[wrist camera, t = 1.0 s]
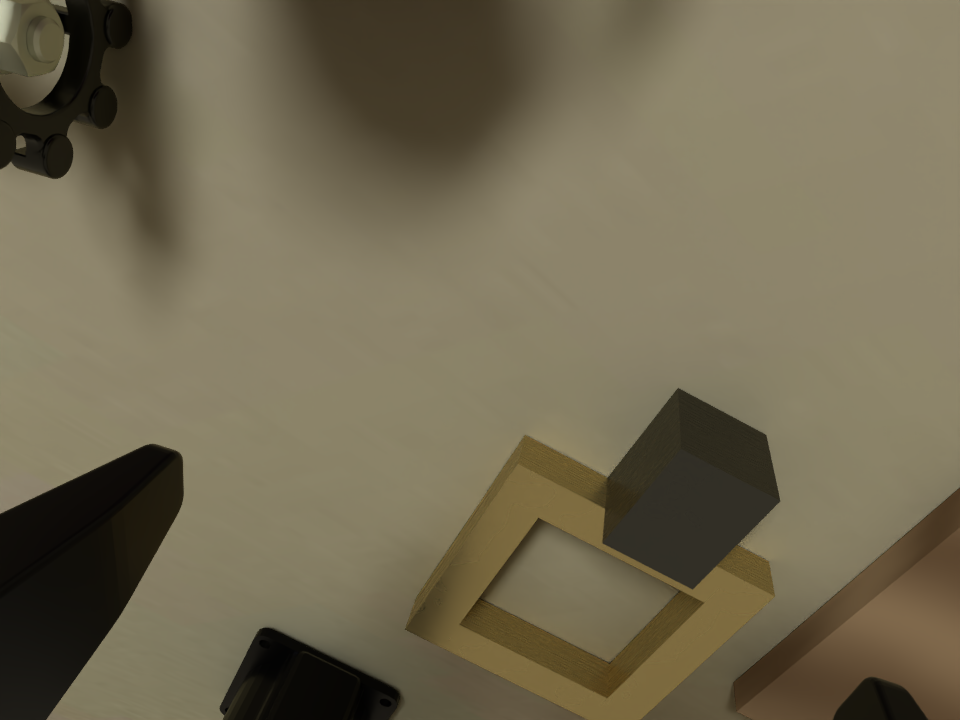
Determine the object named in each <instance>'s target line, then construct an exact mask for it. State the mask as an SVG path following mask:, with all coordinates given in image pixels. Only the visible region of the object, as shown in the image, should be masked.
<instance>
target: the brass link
mask: <svg viewBox="0 0 960 720" xmlns="http://www.w3.org/2000/svg"><path fill="white" fill-rule="evenodd" d="M779 502H780V498H779V493H778V488H777V483H776V479H775V474H774V469H773V465H772V460H771V455H770V450H769V446H768V441H767V436H766V435H765V434H763V433H761V432H760V431H758V430H756V429H754V428H752V427H750V426H748V425H746V424H745V423H743V422H741V421H739V420H737V419H735V418H733V417H731V416H730V415H728V414H726V413H724V412H722V411H720V410H718V409H716V408H715V407H713V406H711V405H709V404H707V403H705V402H703V401H701V400H699V399H698V398H696V397H694V396H692V395H690V394H688V393H686V392H684V391H683V390H681V389H679V388H678V389H677V390H676V391H675V393H674V394H673V395H672V396H671V398H670V399H669V400H668V402H667V403H666V404H665V405H664V407H663V408H662V409H661V411H660V412H659V413H658V414H657V416H656V417H655V418H654V419H653V421H652V422H651V423H650V425H649V426H648V427H647V428H646V430H645V431H644V432H643V433H642V435H641V436H640V437H639V439H638V440H637V441H636V442H635V444H634V445H633V446H632V448H631V449H630V450H629V451H628V453H627V454H626V455H625V456H624V458H623V459H622V460H621V462H620V463H619V464H618V465H617V467H616V468H615V469H614V470H613V472H612V473H611V474H610V476H609V477H608V478H607V477H605V476H603V475H601V474H599V473H597V472H595V471H593V470H591V469H589V468H588V467H586V466H584V465H582V464H580V463H578V462H576V461H574V460H572V459H570V458H568V457H566V456H564V455H562V454H561V453H559V452H557V451H555V450H553V449H551V448H549V447H547V446H545V445H543V444H541V443H539V442H537V441H536V440H534V439H532V438H530V437H528V436H526V435H525V436H524V437H523V439H522V440H521V442H520V443H519V445H518V446H517V448H516V449H515V451H514V452H513V454H512V455H511V457H510V458H509V460H508V461H507V463H506V464H505V466H504V467H503V469H502V470H501V472H500V473H499V475H498V476H497V478H496V479H495V481H494V482H493V484H492V485H491V487H490V488H489V490H488V491H487V493H486V494H485V496H484V497H483V499H482V500H481V502H480V503H479V505H478V506H477V508H476V509H475V511H474V512H473V514H472V515H471V517H470V518H469V520H468V521H467V523H466V524H465V526H464V527H463V529H462V530H461V532H460V533H459V535H458V536H457V538H456V539H455V541H454V542H453V544H452V545H451V547H450V548H449V550H448V551H447V553H446V554H445V556H444V557H443V558H442V560H441V561H440V563H439V564H438V566H437V567H436V569H435V570H434V572H433V573H432V575H431V576H430V578H429V579H428V581H427V582H426V584H425V585H424V587H423V588H422V590H421V591H420V593H419V594H418V596H417V597H416V600H415V602H414V605H413V608H412V611H411V614H410V617H409V620H408V623H407V625H406V628H405V630H407V631H409V632H411V633H413V634H415V635H417V636H419V637H421V638H423V639H425V640H427V641H429V642H431V643H433V644H435V645H437V646H439V647H441V648H443V649H445V650H448V651H450V652H452V653H454V654H456V655H458V656H460V657H462V658H464V659H466V660H468V661H470V662H472V663H474V664H476V665H478V666H480V667H482V668H484V669H486V670H488V671H490V672H492V673H494V674H496V675H498V676H500V677H502V678H504V679H506V680H508V681H510V682H512V683H514V684H516V685H518V686H520V687H522V688H525V689H527V690H529V691H531V692H533V693H535V694H537V695H539V696H541V697H543V698H545V699H547V700H549V701H551V702H553V703H555V704H557V705H559V706H561V707H563V708H565V709H567V710H569V711H571V712H573V713H575V714H577V715H579V716H581V717H583V718H585V719H587V720H641V719H642V718H643V717H644V716H645V715H646V714H647V713H648V712H649V711H650V710H652V709H653V708H654V707H655V706H656V705H657V704H658V703H659V702H660V701H661V700H662V699H664V698H665V697H666V696H667V695H668V694H669V693H670V692H671V691H672V690H673V689H674V688H676V687H677V686H678V685H679V684H680V683H681V682H682V681H683V680H684V679H685V678H686V677H688V676H689V675H690V674H691V673H692V672H693V671H694V670H695V669H696V668H697V667H699V666H700V665H701V664H702V663H703V662H704V661H705V660H706V659H707V658H708V657H709V656H711V655H712V654H713V653H714V652H715V651H716V650H717V649H718V648H719V647H720V646H721V645H723V644H724V643H725V642H726V641H727V640H728V639H729V638H730V637H731V636H732V635H733V634H735V633H736V632H737V631H738V630H739V629H740V628H741V627H742V626H743V625H744V624H745V623H747V622H748V621H749V620H750V619H751V618H752V617H753V616H754V615H755V614H756V613H757V612H759V611H760V610H761V609H762V608H763V607H764V606H765V605H766V604H767V603H768V602H770V601H771V600H772V599H773V598H774V597H775V594H774V588H773V582H772V577H771V571H770V565H769V561H767V560H765V559H763V558H761V557H759V556H757V555H755V554H753V553H751V552H749V551H747V550H745V549H744V548H742V547H740V546H738V545H737V544H738V543H739V542H740V541H741V540H742V539H743V538H744V537H745V536H746V535H747V534H748V533H749V532H750V531H751V530H752V529H753V528H754V527H755V526H756V525H757V524H758V523H759V522H760V521H761V520H762V519H763V518H764V517H765V516H766V515H767V514H768V513H769V512H770V511H771V510H772V509H773V508H774V507H775V506H776V505H777V504H778V503H779ZM538 518H540V519H542V520H544V521H546V522H548V523H550V524H552V525H554V526H556V527H558V528H559V529H561V530H563V531H565V532H567V533H569V534H571V535H573V536H575V537H577V538H579V539H581V540H583V541H585V542H587V543H589V544H591V545H593V546H595V547H597V548H599V549H601V550H602V551H604V552H606V553H608V554H610V555H612V556H614V557H616V558H618V559H620V560H622V561H624V562H626V563H628V564H630V565H632V566H634V567H636V568H638V569H640V570H642V571H644V572H645V573H647V574H649V575H651V576H653V577H655V578H657V579H659V580H661V581H663V582H665V583H667V584H669V585H671V586H673V587H675V588H677V589H679V590H681V591H680V592H679V593H678V594H677V595H676V596H675V597H674V598H673V599H672V600H671V601H670V602H669V603H668V604H667V605H666V606H665V607H664V608H663V609H662V610H661V611H660V612H659V613H658V614H657V616H656V617H655V618H654V619H653V620H652V621H651V622H650V623H649V624H648V625H647V626H646V627H645V628H644V629H643V630H642V631H641V632H640V633H639V634H638V635H637V636H636V637H635V638H634V639H633V640H632V641H631V642H630V643H629V644H628V645H627V646H626V647H625V648H624V649H623V650H622V651H621V652H620V654H619V655H618V656H617V657H616V658H615V659H614V660H613V661H612V662H611V663H610V664H609V663H607V662H605V661H603V660H601V659H599V658H597V657H595V656H593V655H591V654H589V653H587V652H585V651H583V650H581V649H579V648H577V647H575V646H573V645H571V644H569V643H567V642H565V641H563V640H561V639H559V638H557V637H555V636H553V635H551V634H549V633H547V632H545V631H543V630H541V629H539V628H537V627H535V626H533V625H531V624H529V623H527V622H525V621H523V620H521V619H519V618H517V617H515V616H513V615H511V614H509V613H507V612H505V611H503V610H501V609H499V608H497V607H495V606H493V605H491V604H489V603H487V602H485V601H483V600H481V599H479V597H480V596H481V594H482V593H483V592H484V590H485V589H486V588H487V586H488V585H489V584H490V582H491V581H492V580H493V578H494V577H495V575H496V574H497V573H498V571H499V570H500V569H501V567H502V566H503V565H504V563H505V562H506V561H507V559H508V558H509V557H510V555H511V554H512V553H513V551H514V550H515V549H516V547H517V546H518V545H519V543H520V542H521V540H522V539H523V538H524V536H525V535H526V534H527V532H528V531H529V530H530V528H531V527H532V526H533V524H534V523H535V522H536V520H537V519H538Z"/></svg>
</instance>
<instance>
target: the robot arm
mask: <svg viewBox="0 0 960 720" xmlns="http://www.w3.org/2000/svg"><path fill="white" fill-rule="evenodd" d="M183 496H184V486H183V459H182V456H181V454H180V453H179V452H178V451H175V450H172V449H169V448H166V447H163V446H160V445H157V444H149V445H145V446H143V447H140V448H138V449H136V450H134V451H132V452H130V453H128V454H126V455H123V456H121V457H119V458H117V459H115V460H113V461H111V462H109V463H107V464H104V465H102V466H100V467H98V468H96V469H94V470H92V471H90V472H88V473H85V474H83V475H81V476H79V477H77V478H75V479H73V480H71V481H68V482H66V483H64V484H62V485H60V486H58V487H56V488H54V489H52V490H49V491H47V492H45V493H43V494H41V495H39V496H37V497H35V498H33V499H30V500H28V501H26V502H24V503H22V504H20V505H18V506H16V507H13V508H11V509H9V510H7V511H5V512H3V513H1V514H0V720H46V719H47V718H48V716H49V715H50V714H51V712H52V711H53V709H54V708H55V707H56V705H57V704H58V702H59V701H60V700H61V698H62V697H63V695H64V694H65V693H66V691H67V690H68V688H69V687H70V686H71V684H72V683H73V681H74V680H75V679H76V677H77V676H78V674H79V673H80V672H81V670H82V669H83V667H84V666H85V665H86V663H87V662H88V660H89V659H90V658H91V656H92V655H93V653H94V652H95V651H96V649H97V648H98V646H99V645H100V644H101V642H102V641H103V639H104V638H105V637H106V635H107V634H108V632H109V631H110V630H111V628H112V627H113V625H114V624H115V622H116V621H117V619H118V618H119V616H120V615H121V613H122V612H123V610H124V608H125V606H126V605H127V603H128V601H129V600H130V598H131V596H132V595H133V593H134V591H135V589H136V587H137V586H138V584H139V582H140V580H141V579H142V577H143V575H144V573H145V571H146V570H147V568H148V566H149V564H150V563H151V561H152V559H153V557H154V555H155V554H156V552H157V550H158V548H159V547H160V545H161V543H162V541H163V539H164V538H165V536H166V534H167V532H168V530H169V529H170V527H171V525H172V523H173V522H174V520H175V518H176V516H177V514H178V512H179V510H180V508H181V505H182V502H183ZM399 699H400V695H399V693H398V692H397V691H396V690H395V689H393V688H391V687H389V686H387V685H385V684H383V683H381V682H379V681H377V680H375V679H373V678H371V677H369V676H366V675H364V674H362V673H360V672H358V671H356V670H354V669H352V668H350V667H348V666H346V665H344V664H342V663H340V662H338V661H336V660H334V659H332V658H330V657H327V656H325V655H323V654H321V653H319V652H317V651H315V650H313V649H311V648H309V647H307V646H305V645H303V644H301V643H299V642H297V641H295V640H293V639H291V638H288V637H286V636H284V635H282V634H280V633H278V632H276V631H274V630H272V629H269V628H262V629H260V630H259V631H258V632H257V634H256V636H255V638H254V640H253V642H252V644H251V646H250V648H249V650H248V652H247V654H246V656H245V658H244V660H243V662H242V664H241V666H240V668H239V670H238V672H237V674H236V676H235V678H234V680H233V682H232V684H231V686H230V688H229V690H228V692H227V694H226V696H225V698H224V700H223V702H222V704H221V706H220V711H221V713H222V714H223V715H225V716H224V718H223V720H388V719H389V717H390V716H391V715H392V713H393V712H394V711H395V709H396V708H397V705H398V702H399ZM833 720H929V719H928V718H927V717H926V715H925V714H924V712H923V711H922V710H921V708H920V707H919V705H918V704H917V703H916V701H915V700H914V698H913V697H912V695H911V694H910V693H909V692H908V691H907V690H906V689H905V688H904V687H902V686H901V685H898V684H896V683H893V682H889V681H886V680H883V679H880V678H877V677H872V676H871V677H868V678H865V679H864V680H863V681H862V682H861V683H860V684H859V685H858V686H857V688H856V689H855V690H854V691H853V692H852V693H851V694H850V695H849V696H848V698H847V699H846V700H845V701H844V702H843V703H842V704H841V705H840V707H839V708H838V709H837V711H836V713H835V715H834V718H833Z"/></svg>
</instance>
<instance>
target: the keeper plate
mask: <svg viewBox="0 0 960 720" xmlns="http://www.w3.org/2000/svg"><path fill="white" fill-rule="evenodd" d="M871 676H872V677H877V678H880V679H883V680H886V681H889V682H893V683H896V684H898V685H901V686H902V687H904V688H905V689H906V690H907V691H908V692H909V693H910V694H911V695H912V697H913V698H914V700H915V701H916V703H917V704H918V705H919V707H920V708H921V710H922V711H923V712H924V714H925V715H926V717H927V718H928V719H929V720H960V488H959V489H958V490H957V491H956V492H955V493H953V494H952V495H951V496H950V497H949V498H948V499H946V500H945V501H944V502H943V503H942V504H941V505H940V506H938V507H937V508H936V509H935V510H934V511H933V512H931V513H930V514H929V515H928V516H927V517H926V518H924V519H923V520H922V521H921V522H920V523H919V524H917V525H916V526H915V527H914V528H913V529H912V530H910V531H909V532H908V533H907V534H906V535H905V536H903V537H902V538H901V539H900V540H899V541H898V542H897V543H895V544H894V545H893V546H892V547H891V548H890V549H888V550H887V551H886V552H885V553H884V554H883V555H881V556H880V557H879V558H878V559H877V560H876V561H874V562H873V563H872V564H871V565H870V566H869V567H867V568H866V569H865V570H864V571H863V572H862V573H860V574H859V575H858V576H857V577H856V578H855V579H854V580H852V581H851V582H850V583H849V584H848V585H847V586H845V587H844V588H843V589H842V590H841V591H840V592H838V593H837V594H836V595H835V596H834V597H833V598H831V599H830V600H829V601H828V602H827V603H826V604H824V605H823V606H822V607H821V608H820V609H819V610H818V611H816V612H815V613H814V614H813V615H812V616H811V617H809V618H808V619H807V620H806V621H805V622H804V623H802V624H801V625H800V626H799V627H798V628H797V629H795V630H794V631H793V632H792V633H791V634H790V635H788V636H787V637H786V638H785V639H784V640H783V641H781V642H780V643H779V644H778V645H777V646H776V647H775V648H773V649H772V650H771V651H770V652H769V653H768V654H766V655H765V656H764V657H763V658H762V659H761V660H759V661H758V662H757V663H756V664H755V665H754V666H752V667H751V668H750V669H749V670H748V671H747V672H745V673H744V674H743V675H742V676H741V677H740V678H738V679H737V680H736V681H735V682H734V692H735V702H736V712H738V713H740V714H742V715H744V716H746V717H748V718H750V719H752V720H833V718H834V715H835V713H836V711H837V709H838V708H839V707H840V705H841V704H842V703H843V702H844V701H845V700H846V699H847V698H848V696H849V695H850V694H851V693H852V692H853V691H854V690H855V689H856V688H857V686H858V685H859V684H860V683H861V682H862V681H863V680H864V679H865V678H868V677H871Z"/></svg>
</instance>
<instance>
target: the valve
mask: <svg viewBox="0 0 960 720" xmlns="http://www.w3.org/2000/svg"><path fill="white" fill-rule="evenodd" d="M65 1H66V6H67V7H63V6H59V5H54V4H51V2H50V1H49V0H0V73H1V74H11V73H16V74H20V75H23V76H27V77H32V76H38V75H43V74H47V73H50V72H52V71H54V70H55V68H56V66H57V64H58V62H59V60H60V58H61V54H62V51H63V46H64V34H68V35H70V38H69V50H68V55H67V60H66V63H65V67H64V69H63V72H62V74H61V77H60V79H59V80H58V82H57V84H56V85H55V87H54V88H53V90H52V91H51V92H50V93H49V94H48V95H47V96H46V97H45V98H44V99H43V100H42V101H41V102H39V103H38V104H36V105H34V106H31V107H28V108H23V109H20V108H19V107H18V106H16V105H15V104H14V103H13V102H12V101H11V100H10V98H9V97H8V96H7V94H6V93H5V91H4V89H3V87H2V86H1V83H0V169H2V168H4V167H6V166H7V165H8V164H9V163H10V162H12V164H13V165H14V166H15V167H16V168H18V169H21V170H24V171H27V172H31V173H34V174H38V175H41V176H45V177H48V178H52V179H58V178H61V177H63V176H64V175H65V174H66V173H67V172H68V170H69V169H70V167H71V164H72V161H73V147H72V144H71V142H70V140H69V139H68V138H67V131H68V128H69V126H70V124H71V123H72V122H73V121H74V122H78V123H81V124H85V125H88V126H92V127H95V128H99V129H104V128H107V127H109V126H110V125H111V124H112V122H113V121H114V119H115V116H116V113H117V98H116V95H115V93H114V91H113V90H112V89H111V88H110V87H108V86H105V85H103V84H102V83H101V80H100V70H101V64H102V59H103V54H104V52H105V50H106V48H108V47H112V48H116V49H121V48H123V47H125V46H126V45H127V44H128V42H129V40H130V38H131V35H132V16H131V13H130V11H129V9H128V8H127V7H126V6H125V5H124V4H122V3H118V2H115V1H111V0H65ZM20 135H22V136H23V137H24V138H25V141H26V147H24V148H20V149H16V137H17V136H20Z"/></svg>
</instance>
